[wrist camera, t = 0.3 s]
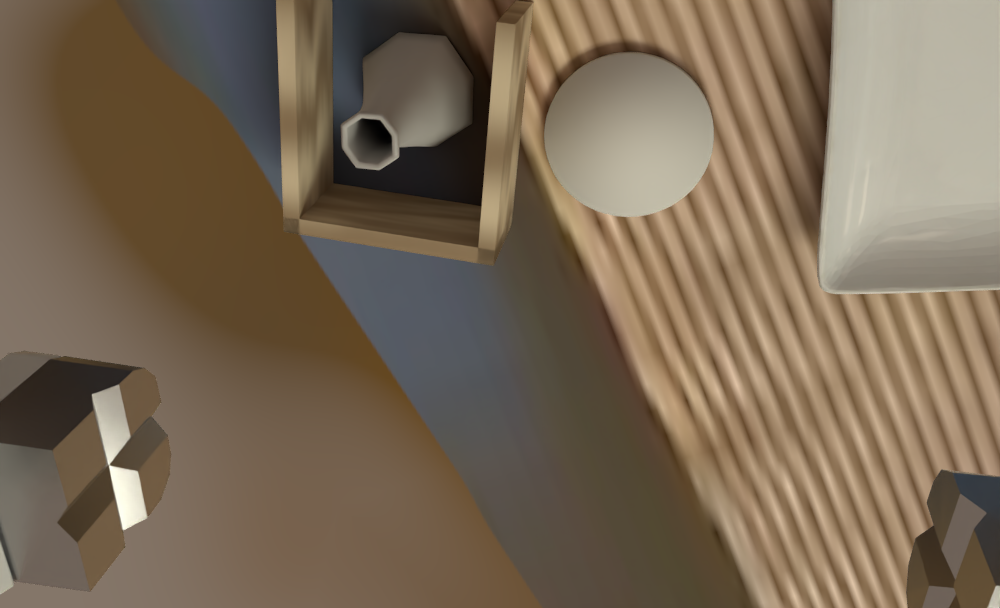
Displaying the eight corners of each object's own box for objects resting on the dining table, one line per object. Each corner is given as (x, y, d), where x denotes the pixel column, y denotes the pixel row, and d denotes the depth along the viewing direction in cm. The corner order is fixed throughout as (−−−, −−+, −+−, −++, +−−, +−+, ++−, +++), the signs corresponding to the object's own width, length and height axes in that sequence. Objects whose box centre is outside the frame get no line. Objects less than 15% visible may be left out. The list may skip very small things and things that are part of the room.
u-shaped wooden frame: (316, -26, 54) (275, -7, 49) (533, 2, 53) (515, 24, 48) (319, 195, 61) (284, 231, 56) (511, 225, 60) (493, 265, 55)
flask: (345, 45, 56) (281, 90, 48) (456, 15, 54) (410, 57, 45) (385, 157, 59) (331, 218, 51) (491, 132, 57) (454, 192, 48)
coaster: (555, 40, 54) (554, 43, 53) (729, 63, 52) (729, 66, 52) (537, 200, 59) (536, 203, 58) (696, 224, 57) (696, 228, 57)
